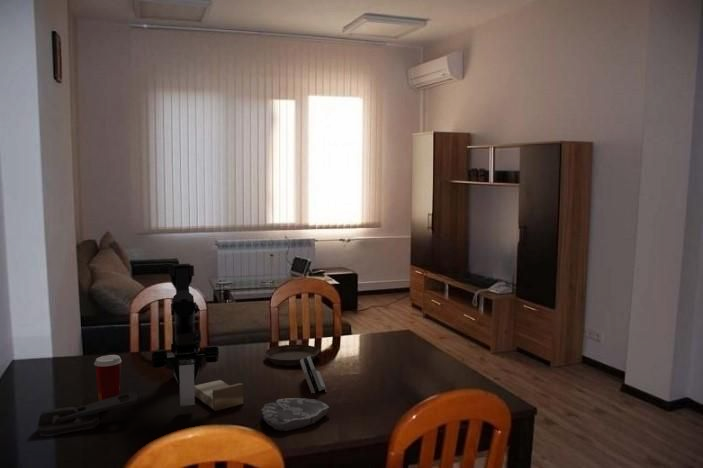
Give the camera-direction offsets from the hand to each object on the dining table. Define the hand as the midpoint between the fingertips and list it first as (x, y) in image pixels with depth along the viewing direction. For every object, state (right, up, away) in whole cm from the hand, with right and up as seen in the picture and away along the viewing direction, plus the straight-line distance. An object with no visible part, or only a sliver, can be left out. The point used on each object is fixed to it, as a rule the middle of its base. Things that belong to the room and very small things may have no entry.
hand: (186, 382), depth 166 cm
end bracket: (0, -6, +2) cm, 7 cm away
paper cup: (-26, -9, +9) cm, 29 cm away
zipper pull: (-25, -10, -6) cm, 28 cm away
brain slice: (+30, -10, -2) cm, 32 cm away
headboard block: (+6, -8, +12) cm, 16 cm away
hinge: (+34, -7, +25) cm, 43 cm away
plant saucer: (+25, -5, +53) cm, 59 cm away
